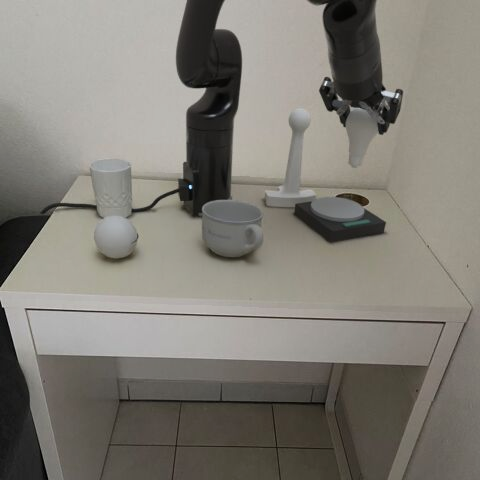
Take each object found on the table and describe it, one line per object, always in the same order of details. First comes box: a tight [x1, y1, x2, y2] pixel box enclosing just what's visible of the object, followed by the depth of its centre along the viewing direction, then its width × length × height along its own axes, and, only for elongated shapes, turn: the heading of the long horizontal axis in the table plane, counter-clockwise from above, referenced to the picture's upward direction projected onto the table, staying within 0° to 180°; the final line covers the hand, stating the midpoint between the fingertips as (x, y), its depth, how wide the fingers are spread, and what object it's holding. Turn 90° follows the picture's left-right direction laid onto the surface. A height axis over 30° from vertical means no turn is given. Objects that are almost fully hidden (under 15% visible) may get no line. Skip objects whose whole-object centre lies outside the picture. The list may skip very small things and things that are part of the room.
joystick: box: [263, 107, 317, 208], centre depth 106 cm, size 11×8×20 cm
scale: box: [293, 196, 387, 243], centre depth 102 cm, size 13×14×3 cm
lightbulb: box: [345, 108, 379, 169], centre depth 90 cm, size 6×6×11 cm
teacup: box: [201, 199, 264, 258], centre depth 87 cm, size 14×11×8 cm
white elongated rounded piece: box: [93, 215, 139, 259], centre depth 86 cm, size 10×7×7 cm
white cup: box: [88, 157, 133, 219], centre depth 98 cm, size 8×8×10 cm
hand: (365, 126), depth 90 cm, fingers closed on lightbulb, 6 cm apart
